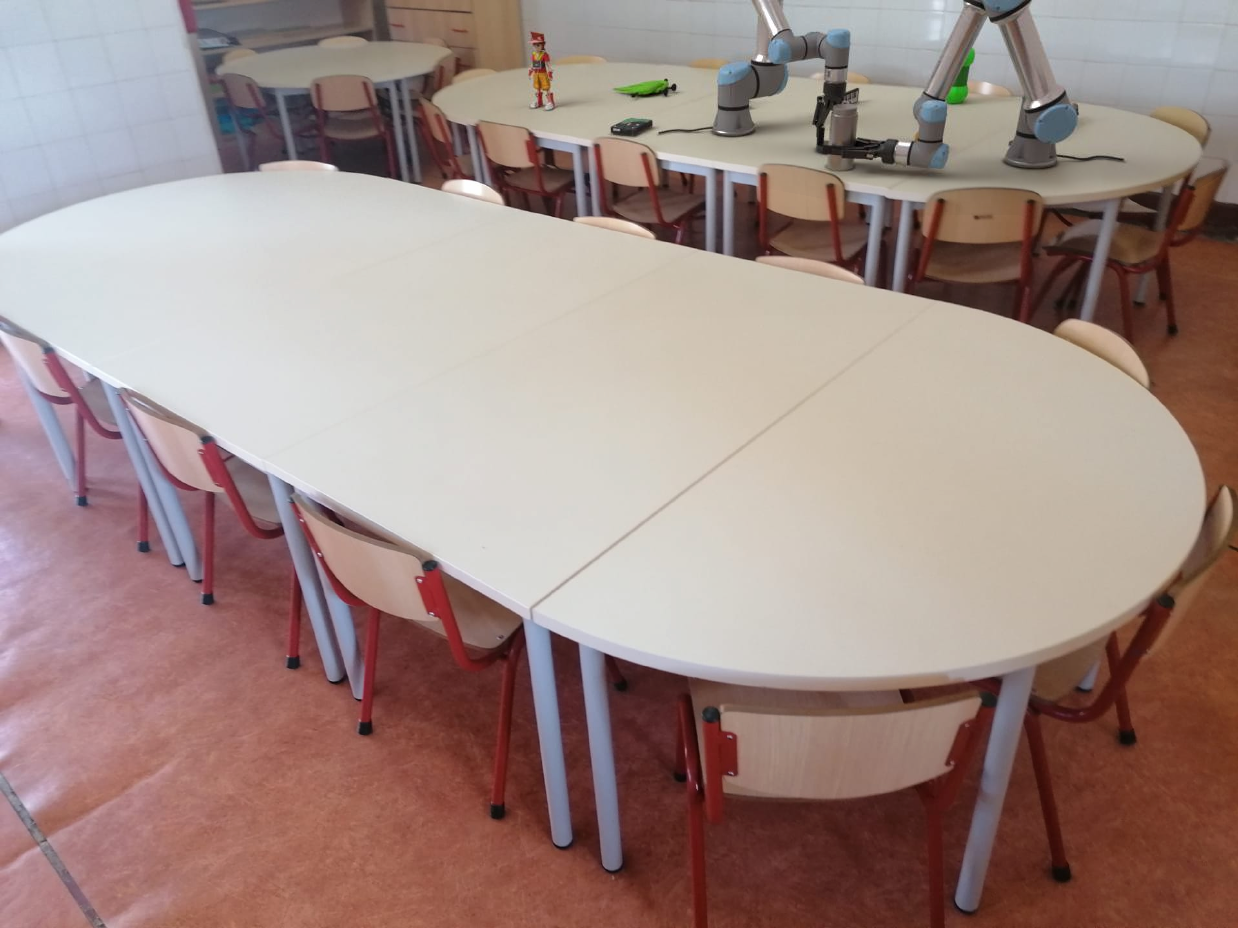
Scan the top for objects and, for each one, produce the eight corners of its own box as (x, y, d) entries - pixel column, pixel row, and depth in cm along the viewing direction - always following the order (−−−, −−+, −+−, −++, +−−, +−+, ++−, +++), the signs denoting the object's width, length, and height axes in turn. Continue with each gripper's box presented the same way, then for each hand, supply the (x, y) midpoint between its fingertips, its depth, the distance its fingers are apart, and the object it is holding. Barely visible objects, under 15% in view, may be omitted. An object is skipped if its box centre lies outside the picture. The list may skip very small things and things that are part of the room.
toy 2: (686, 85, 398) (631, 84, 414) (685, 72, 395) (629, 72, 411) (651, 104, 381) (596, 103, 397) (650, 92, 378) (594, 91, 394)
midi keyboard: (835, 110, 353) (837, 97, 350) (833, 110, 354) (834, 97, 351) (858, 101, 363) (859, 88, 361) (855, 101, 364) (856, 88, 361)
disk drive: (633, 137, 337) (653, 126, 347) (633, 129, 336) (652, 119, 346) (610, 134, 342) (630, 124, 352) (609, 127, 340) (630, 117, 350)
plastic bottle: (973, 101, 354) (984, 32, 339) (955, 106, 349) (966, 36, 335) (952, 97, 361) (962, 29, 346) (934, 102, 356) (944, 33, 342)
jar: (858, 166, 294) (864, 105, 284) (843, 172, 290) (848, 111, 279) (836, 161, 300) (841, 102, 289) (821, 167, 295) (826, 107, 284)
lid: (819, 146, 315) (820, 139, 314) (846, 148, 312) (846, 141, 310) (813, 153, 308) (814, 147, 307) (840, 155, 305) (840, 148, 304)
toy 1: (525, 109, 381) (517, 32, 364) (534, 104, 388) (527, 28, 371) (550, 110, 377) (543, 32, 360) (559, 105, 384) (553, 28, 367)
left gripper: (804, 78, 303) (800, 146, 316) (851, 88, 288) (844, 159, 300) (820, 74, 306) (815, 142, 319) (867, 84, 291) (861, 154, 304)
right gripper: (885, 173, 278) (815, 166, 288) (904, 155, 293) (837, 148, 303) (888, 149, 274) (817, 142, 284) (907, 131, 288) (839, 125, 298)
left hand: (829, 150), depth 310 cm, fingers open, 9 cm apart
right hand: (827, 145), depth 293 cm, fingers closed on jar, 8 cm apart
